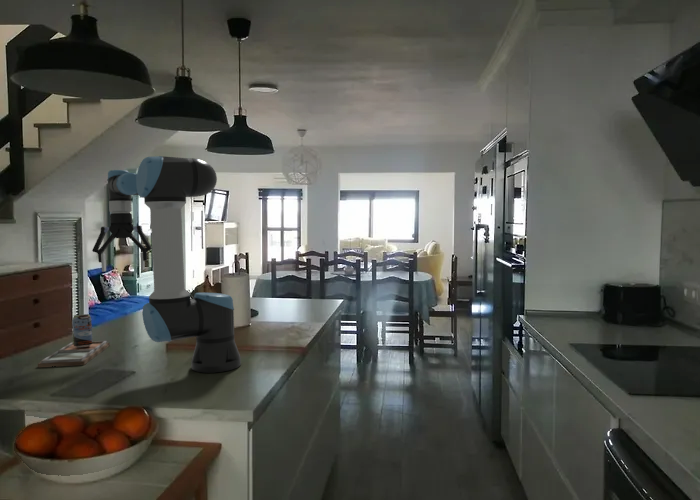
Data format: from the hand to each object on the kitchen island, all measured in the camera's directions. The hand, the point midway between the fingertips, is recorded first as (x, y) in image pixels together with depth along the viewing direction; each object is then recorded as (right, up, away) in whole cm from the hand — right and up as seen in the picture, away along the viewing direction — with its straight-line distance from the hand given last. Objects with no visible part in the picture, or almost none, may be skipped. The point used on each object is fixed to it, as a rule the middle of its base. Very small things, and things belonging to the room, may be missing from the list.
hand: (123, 270), depth 196 cm
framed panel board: (-11, -29, -12) cm, 33 cm away
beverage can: (-12, -27, -6) cm, 30 cm away
